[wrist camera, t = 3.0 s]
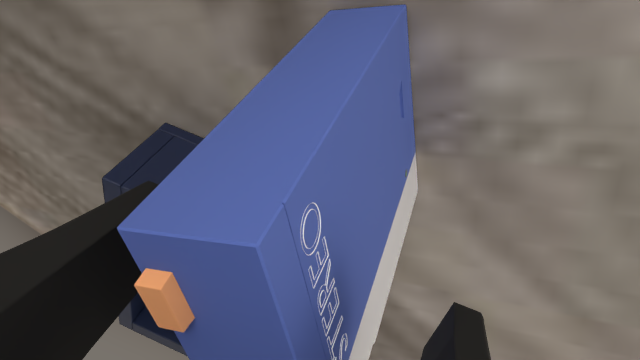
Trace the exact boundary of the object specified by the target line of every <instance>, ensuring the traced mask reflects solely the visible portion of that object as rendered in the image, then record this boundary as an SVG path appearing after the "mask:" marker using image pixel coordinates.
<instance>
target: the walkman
mask: <svg viewBox="0 0 640 360" xmlns="http://www.w3.org/2000/svg"><path fill="white" fill-rule="evenodd" d="M417 192H418V181H417V165H416V151H415V135H414V120H413V104H412V88H411V73H410V57H409V42H408V26H407V10H406V5H394V6H381V7H368V8H356V9H343V10H331V11H329V12H328V13H327V14H326V15H325V16H324V17H323V18H322V19H321V20H320V21H319V22H318V23H317V24H316V25H315V26H314V27H313V28H312V29H311V30H310V31H309V32H308V33H307V34H306V35H305V37H304V38H303V39H302V40H301V41H300V42H299V43H298V44H297V45H296V46H295V47H294V48H293V49H292V50H291V51H290V52H289V53H288V54H287V55H286V56H285V57H284V58H283V59H282V60H281V61H280V62H279V63H278V64H277V65H276V66H275V67H274V68H273V69H272V70H271V71H270V72H269V73H268V74H267V75H266V76H265V77H264V78H263V79H262V80H261V81H260V82H259V83H258V84H257V85H256V86H255V87H254V88H253V89H252V90H251V91H250V93H249V94H248V95H247V96H246V97H245V98H244V99H243V100H242V101H241V102H240V103H239V104H238V105H237V106H236V107H235V108H234V109H233V110H232V111H231V112H230V113H229V114H228V115H227V116H226V117H225V118H224V119H223V120H222V121H221V122H220V123H219V124H218V125H217V126H216V127H215V128H214V129H213V130H212V131H211V132H210V133H209V134H208V135H207V136H206V137H205V138H204V139H203V140H202V141H201V142H200V143H199V144H198V145H197V146H196V147H195V149H194V150H193V151H192V152H191V153H190V154H189V155H188V156H187V157H186V158H185V159H184V160H183V161H182V162H181V163H180V164H179V165H178V166H177V167H176V168H175V169H174V170H173V171H172V172H171V173H170V174H169V175H168V176H167V177H166V178H165V179H164V180H163V181H162V182H161V183H160V184H159V185H158V186H157V187H156V188H155V189H154V190H153V191H152V192H151V193H150V194H149V195H148V196H147V197H146V198H145V199H144V200H143V201H142V202H141V203H140V205H139V206H138V207H137V208H136V209H135V210H134V211H133V212H132V213H131V214H130V215H129V216H128V217H127V218H126V219H125V220H124V221H123V222H122V223H121V224H120V225H119V226H118V227H117V229H118V232H119V233H120V235H121V237H122V239H123V241H124V242H125V244H126V246H127V248H128V250H129V251H130V253H131V255H132V257H133V259H134V260H135V262H136V264H137V266H138V268H139V269H140V271H141V273H142V274H141V276H140V277H139V278H138V280H137V281H136V283H135V284H134V286H135V288H136V290H137V291H138V293H139V295H140V297H141V298H142V300H143V302H144V303H145V305H146V307H147V309H148V310H149V312H150V314H151V315H152V317H153V319H154V321H155V322H156V324H157V326H158V327H160V328H164V329H169V330H173V331H174V332H175V334H176V336H177V338H178V340H179V341H180V343H181V345H182V347H183V349H184V350H185V352H186V354H187V356H188V358H189V359H190V360H369V356H370V353H371V349H372V346H373V343H374V344H375V340H376V337H377V333H378V330H379V326H380V323H381V319H382V316H383V312H384V309H385V305H386V302H387V298H388V294H389V291H390V287H391V284H392V280H393V277H394V273H395V270H396V266H397V263H398V259H399V255H400V252H401V248H402V245H403V241H404V238H405V234H406V231H407V227H408V224H409V220H410V216H411V213H412V209H413V206H414V202H415V199H416V195H417Z"/></svg>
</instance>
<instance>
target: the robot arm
mask: <svg viewBox="0 0 640 360" xmlns="http://www.w3.org/2000/svg"><path fill="white" fill-rule="evenodd" d="M158 185H159V184H156V183H154V182H151V181H149V180H148V181H146V182H144V183H142V184H140V185H138V186H137V187H135V188H133V189H131V190H129V191H127V192H125V193H123V194H121V195H119V196H118V197H116V198H114V199H112V200H110V201H108V202H106V203H104V204H103V205H101V206H99V207H97V208H95V209H93V210H91V211H89V212H87V213H85V214H83V215H81V216H79V217H77V218H75V219H73V220H71V221H69V222H67V223H65V224H63V225H62V226H60V227H57V228H55V229H53V230H51V231H49V232H47V233H45V234H43V235H41V236H38V237H36V238H34V239H32V240H30V241H27V242H25V243H23V244H21V245H19V246H17V247H14V248H12V249H10V250H7V251H5V252H3V253H1V254H0V360H82V359H83V358H84V357H85V356H86V354H87V353H88V352H89V350H90V349H91V348H92V347H93V346H94V344H95V343H96V342H97V341H98V339H99V338H100V337H101V336H102V335H103V334H104V332H105V331H106V330H107V329H108V328H109V326H110V325H111V324H112V323H113V322H114V320H115V319H116V318H117V317H118V316H119V315H120V313H121V312H122V311H123V310H124V309H125V307H126V306H127V305H128V304H129V303H130V301H131V300H132V299H133V298H134V297H135V295H136V294H137V293H138V291H137V290H136V288H135V286H134V284H135V283H136V281H137V280H138V278H139V277H140V276H141V274H142V273H141V271H140V269H139V268H138V266H137V264H136V262H135V260H134V259H133V257H132V255H131V253H130V251H129V250H128V248H127V246H126V244H125V242H124V241H123V239H122V237H121V235H120V233H119V232H118V229H117V227H118V226H119V225H120V224H121V223H122V222H123V221H124V220H125V219H126V218H127V217H128V216H129V215H130V214H131V213H132V212H133V211H134V210H135V209H136V208H137V207H138V206H139V205H140V203H141V202H142V201H143V200H144V199H145V198H146V197H147V196H148V195H149V194H150V193H151V192H152V191H153V190H154V189H155V188H156V187H157V186H158ZM421 360H491V358H490V353H489V348H488V342H487V337H486V331H485V326H484V319H483V316H482V314H481V313H480V312H478V311H475V310H473V309H470V308H468V307H465V306H463V305H460V304H458V303H455V302H454V303H453V305H452V306H451V308H450V309H449V311H448V312H447V314H446V315H445V317H444V318H443V320H442V321H441V323H440V324H439V326H438V327H437V329H436V330H435V332H434V333H433V335H432V336H431V338H430V339H429V341H428V342H427V344H426V345H425V347H424V349H423V353H422V357H421Z"/></svg>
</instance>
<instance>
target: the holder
mask: <svg viewBox="0 0 640 360" xmlns="http://www.w3.org/2000/svg"><path fill="white" fill-rule="evenodd" d="M202 140H203V138H201V137H199V136H196V135H194V134H191V133H189V132H187V131H184V130H182V129H179V128H177V127H175V126H172V125H170V124H167V123H164V124H163V125H162V126H161V127H160V128H159V130H157V131H156V132H154V133H153V134H152V135H151V136H150V137H149V138H148V139H146V140H145V141H144V142H143V143H142V144H141V145H139V146H138V147H137V148H136V149H135V150H134V151H133V152H131V153H130V154H129V155H128V156H127V157H126V158H124V159H123V160H122V161H121V162H120V163H119V164H118V165H116V166H115V167H114V168H113V169H112V170H111V171H109V172H108V173H107V174H106V175H105V176H104V177H103V178H102V183H103V191H104V199H105V203H106V202H108V201H110V200H112V199H114V198H116V197H118V196H119V195H121V194H123V193H125V192H127V191H129V190H131V189H133V188H135V187H137V186H138V185H140V184H142V183H144V182H146V181H148V180H149V181H151V182H154V183H156V184H160V183H161V182H162V181H163V180H164V179H165V178H166V177H167V176H168V175H169V174H170V173H171V172H172V171H173V170H174V169H175V168H176V167H177V166H178V165H179V164H180V163H181V162H182V161H183V160H184V159H185V158H186V157H187V156H188V155H189V154H190V153H191V152H192V151H193V150H194V149H195V147H196V146H197V145H198V144H199V143H200V142H201V141H202ZM119 322H120V324H121V325H123V326H125V327H127V328H129V329H131V330H133V331H135V332H137V333H139V334H142V335H144V336H146V337H148V338H150V339H152V340H154V341H156V342H159V343H161V344H163V345H165V346H167V347H169V348H171V349H174V350H175V351H178V352H180V353H182V354H184V355H186V356H187V354H186V352H185V350H184V349H183V347H182V345H181V343H180V341H179V340H178V338H177V336H176V334H175V332H174V331H173V330H169V329H164V328H160V327H158V326H157V324H156V322H155V321H154V319H153V317H152V315H151V314H150V312H149V310H148V309H147V307H146V305H145V303H144V302H143V300H142V298H141V297H140V295H139V293H137V294H136V295H135V297H134V298H133V299H132V300H131V301H130V303H129V304H128V305H127V306H126V307H125V309H124V310H123V311H122V312H121V313H120V315H119Z"/></svg>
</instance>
